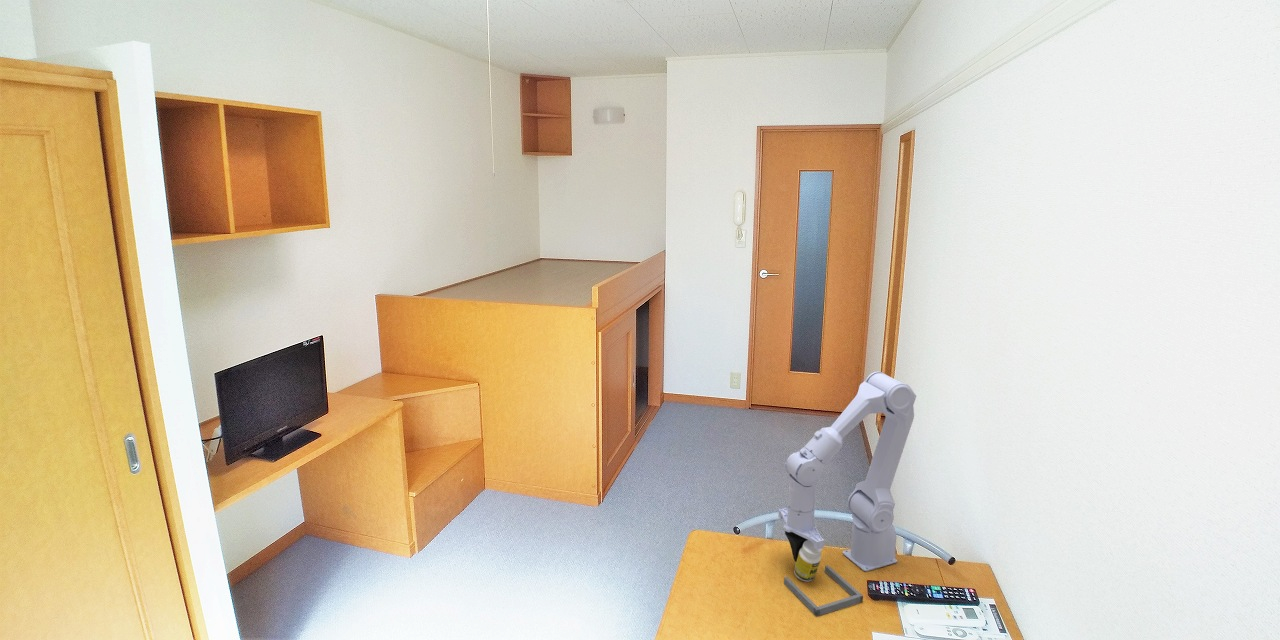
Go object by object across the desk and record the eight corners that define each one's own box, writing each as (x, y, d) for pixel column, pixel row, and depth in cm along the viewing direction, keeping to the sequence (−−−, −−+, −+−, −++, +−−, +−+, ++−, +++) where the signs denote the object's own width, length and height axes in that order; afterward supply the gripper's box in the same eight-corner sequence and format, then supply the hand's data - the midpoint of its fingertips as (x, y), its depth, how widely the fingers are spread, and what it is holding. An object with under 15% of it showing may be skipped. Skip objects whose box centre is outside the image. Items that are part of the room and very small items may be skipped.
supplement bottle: (809, 586, 138) (817, 559, 134) (790, 573, 141) (797, 547, 137) (818, 572, 142) (827, 546, 138) (799, 561, 144) (807, 534, 140)
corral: (827, 570, 143) (827, 565, 143) (862, 602, 132) (863, 595, 132) (783, 583, 139) (784, 577, 139) (816, 616, 128) (816, 610, 128)
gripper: (767, 494, 145) (766, 547, 148) (805, 526, 132) (802, 583, 135) (793, 488, 147) (791, 541, 151) (833, 519, 134) (830, 575, 137)
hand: (798, 560), depth 143 cm, fingers closed
